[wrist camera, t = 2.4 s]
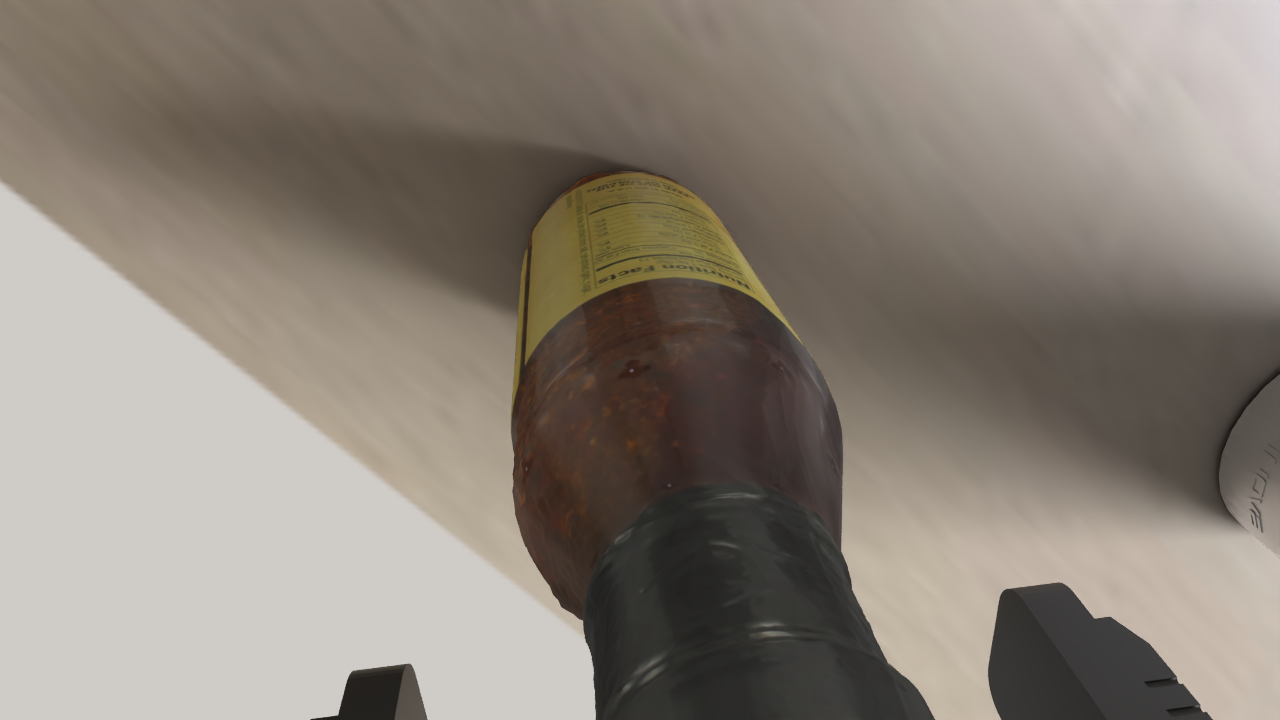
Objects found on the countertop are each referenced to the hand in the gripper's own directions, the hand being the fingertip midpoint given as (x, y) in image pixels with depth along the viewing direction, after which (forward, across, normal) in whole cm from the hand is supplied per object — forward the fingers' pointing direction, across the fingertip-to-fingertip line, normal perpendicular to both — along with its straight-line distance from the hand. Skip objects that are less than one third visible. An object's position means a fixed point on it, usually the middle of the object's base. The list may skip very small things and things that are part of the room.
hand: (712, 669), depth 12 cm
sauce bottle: (+17, 0, 0) cm, 17 cm away
